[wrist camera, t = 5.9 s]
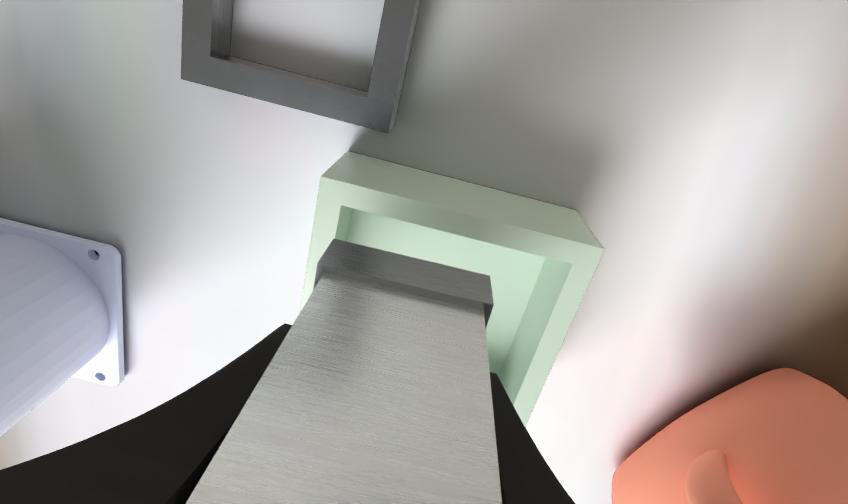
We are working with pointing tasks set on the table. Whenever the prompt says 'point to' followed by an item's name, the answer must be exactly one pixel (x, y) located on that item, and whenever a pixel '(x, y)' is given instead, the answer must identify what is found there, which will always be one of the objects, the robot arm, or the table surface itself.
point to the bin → (470, 253)
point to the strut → (370, 393)
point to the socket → (373, 109)
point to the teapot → (747, 448)
